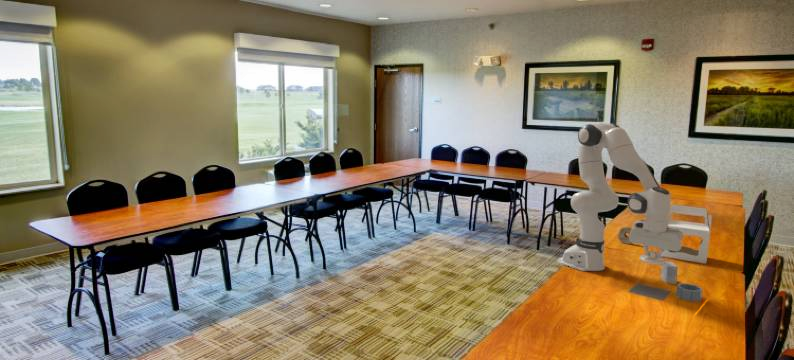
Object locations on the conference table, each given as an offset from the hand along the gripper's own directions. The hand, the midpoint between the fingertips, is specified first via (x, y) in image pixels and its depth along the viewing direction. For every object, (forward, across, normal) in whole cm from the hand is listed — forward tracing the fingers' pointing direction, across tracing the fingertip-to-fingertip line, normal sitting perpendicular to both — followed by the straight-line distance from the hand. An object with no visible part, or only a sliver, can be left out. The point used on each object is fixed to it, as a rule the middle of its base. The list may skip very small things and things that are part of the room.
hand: (652, 256), depth 220 cm
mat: (+16, 0, 0) cm, 16 cm away
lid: (+2, 0, 0) cm, 2 cm away
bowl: (+16, -14, -5) cm, 22 cm away
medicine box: (+17, -2, -21) cm, 27 cm away
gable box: (+17, +3, -69) cm, 71 cm away
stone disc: (+18, +34, -74) cm, 83 cm away
